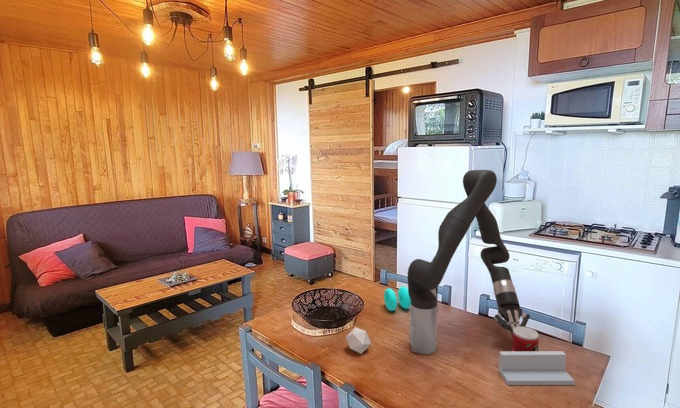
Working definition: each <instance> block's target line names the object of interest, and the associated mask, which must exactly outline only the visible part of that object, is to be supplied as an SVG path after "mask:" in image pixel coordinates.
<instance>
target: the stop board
mask: <svg viewBox="0 0 680 408" xmlns="http://www.w3.org/2000/svg"><path fill="white" fill-rule="evenodd" d="M498 355H499V360H498V362H499V363H498V372H499V374H500V376H501V377H502V378H503V381H504V382H505V383H506V385H507V386H575V379H574V378H572V376H571V375H570V374H569V373H568V372H567V371H566V363H567V354H566V353H565V352H564V351H563V350H558V351H557V350H548V351H547V350H543V351H540V350H538V351H512V350H511V351H510V350H509V351H499V354H498Z"/></svg>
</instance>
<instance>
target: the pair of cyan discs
mask: <svg viewBox="0 0 680 408" xmlns="http://www.w3.org/2000/svg"><path fill="white" fill-rule="evenodd" d="M383 295H384V296H383V299H384V305H385V307H386V309H387V310H388V311H389V312H394V311H395V310H396V308H397V307H398V303H399V304H400V306H401V308H403V309H405V310H407V309H409V308H411V300H410V297H409V293H408V287H406V286H401V287H399V289H398V291H397V294H396V292H395V291H394V290H393V289H392V288H390V287H389V288H386V289H385V290H384V292H383Z"/></svg>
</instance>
